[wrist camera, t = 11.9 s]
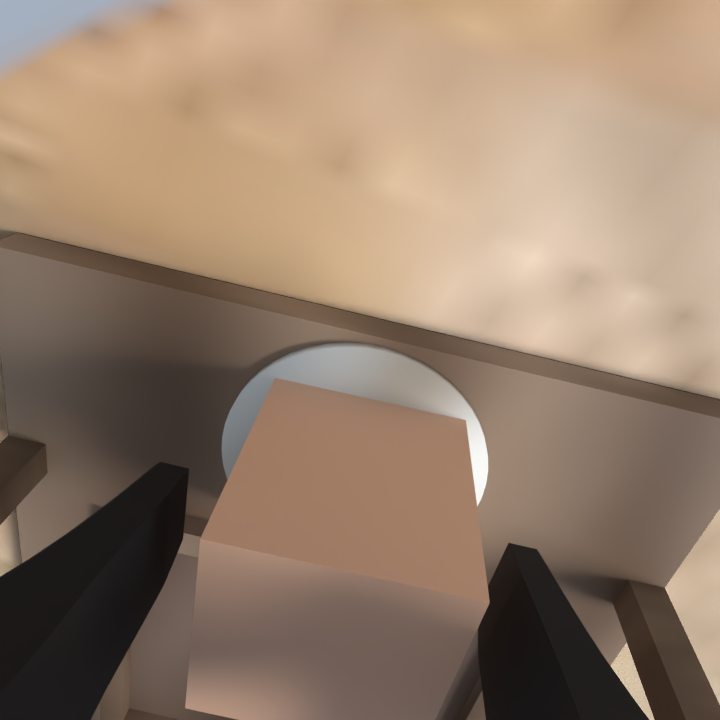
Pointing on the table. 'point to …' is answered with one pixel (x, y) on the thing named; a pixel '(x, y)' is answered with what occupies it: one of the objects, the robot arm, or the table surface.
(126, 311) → the puzzle board
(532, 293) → the table surface
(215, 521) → the block
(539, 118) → the table surface
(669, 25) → the table surface
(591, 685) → the robot arm
